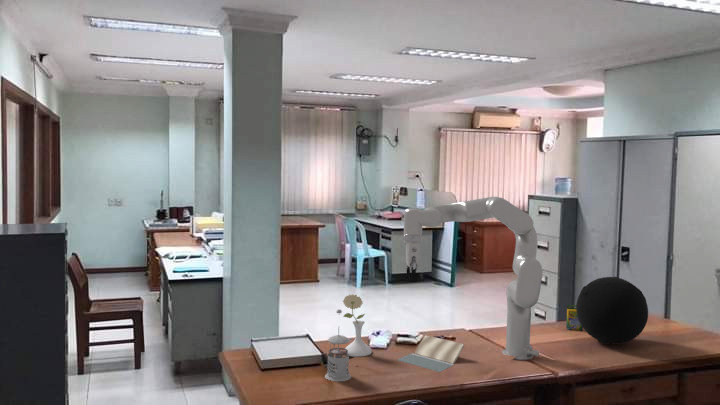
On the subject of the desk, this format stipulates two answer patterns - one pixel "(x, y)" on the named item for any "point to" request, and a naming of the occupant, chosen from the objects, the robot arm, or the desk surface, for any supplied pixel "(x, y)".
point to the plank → (439, 349)
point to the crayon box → (572, 319)
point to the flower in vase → (356, 328)
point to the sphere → (612, 310)
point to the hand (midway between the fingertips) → (411, 279)
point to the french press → (338, 359)
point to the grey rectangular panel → (425, 362)
